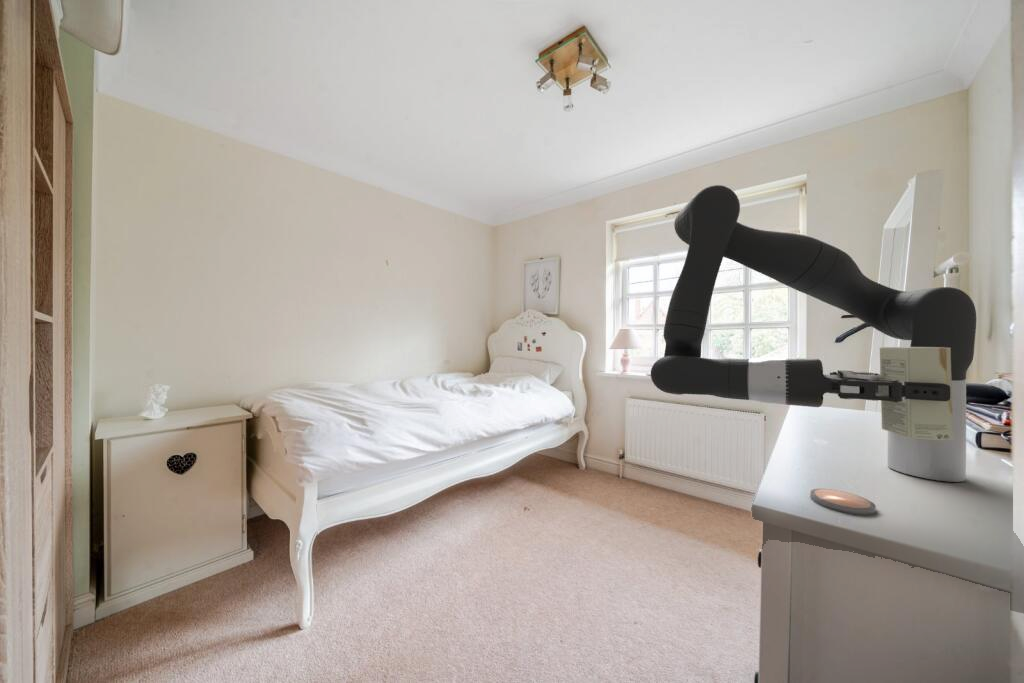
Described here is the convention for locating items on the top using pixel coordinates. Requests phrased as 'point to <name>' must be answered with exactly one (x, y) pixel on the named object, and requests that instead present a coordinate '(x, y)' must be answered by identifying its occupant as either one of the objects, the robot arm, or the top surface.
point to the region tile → (843, 501)
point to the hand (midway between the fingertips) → (938, 389)
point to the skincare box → (917, 414)
